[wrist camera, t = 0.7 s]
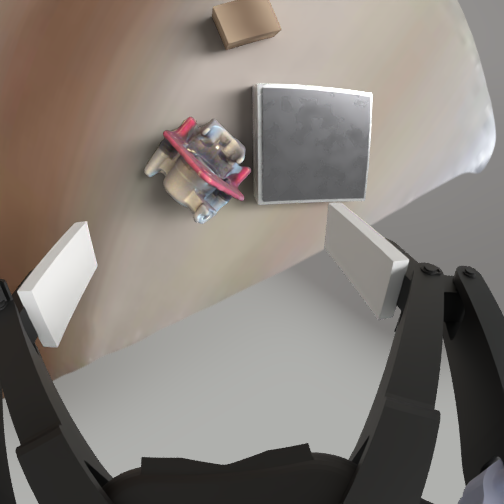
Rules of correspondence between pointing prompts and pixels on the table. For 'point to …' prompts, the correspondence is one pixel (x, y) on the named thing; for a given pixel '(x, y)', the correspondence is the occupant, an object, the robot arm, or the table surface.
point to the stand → (310, 143)
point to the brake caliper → (200, 167)
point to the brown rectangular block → (245, 22)
